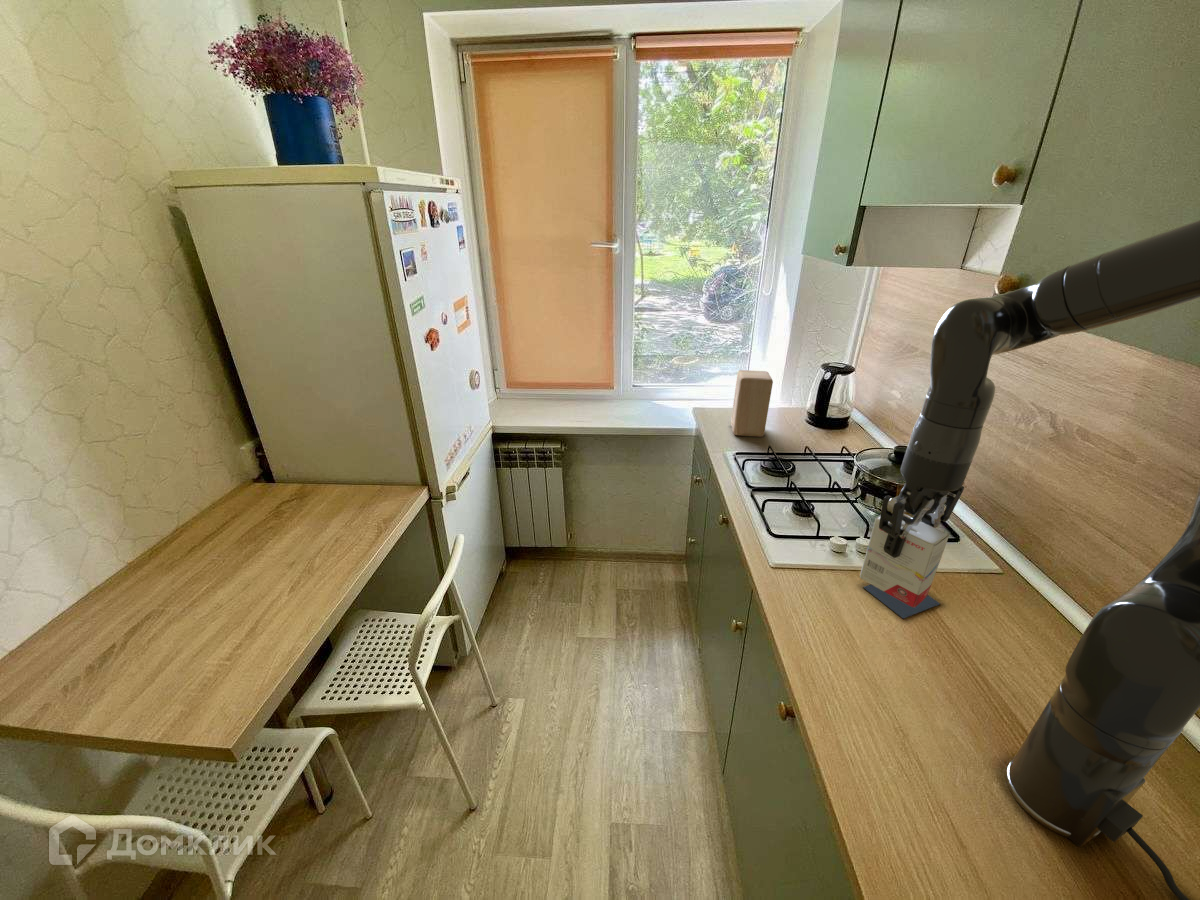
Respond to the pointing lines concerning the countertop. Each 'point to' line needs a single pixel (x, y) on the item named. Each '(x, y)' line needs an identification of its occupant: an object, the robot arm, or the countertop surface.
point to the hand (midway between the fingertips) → (905, 548)
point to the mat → (900, 602)
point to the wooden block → (751, 403)
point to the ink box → (905, 562)
